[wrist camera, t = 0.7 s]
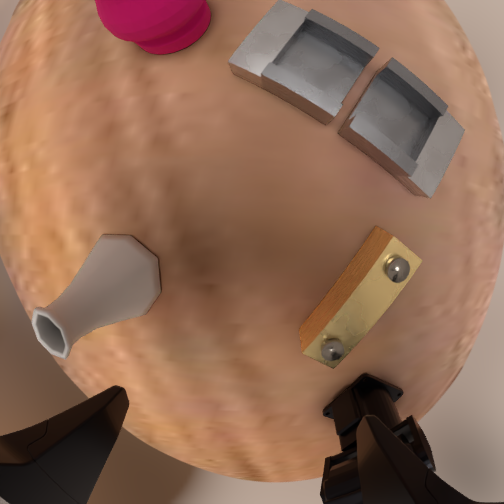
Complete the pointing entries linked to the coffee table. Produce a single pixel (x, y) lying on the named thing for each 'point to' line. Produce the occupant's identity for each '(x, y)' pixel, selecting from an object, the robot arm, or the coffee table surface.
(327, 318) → the link bar
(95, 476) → the robot arm
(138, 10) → the pepper mill
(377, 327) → the coffee table surface
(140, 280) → the flask
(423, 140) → the grey metal base
